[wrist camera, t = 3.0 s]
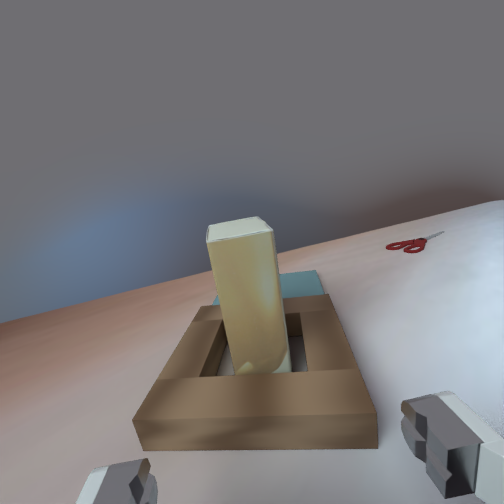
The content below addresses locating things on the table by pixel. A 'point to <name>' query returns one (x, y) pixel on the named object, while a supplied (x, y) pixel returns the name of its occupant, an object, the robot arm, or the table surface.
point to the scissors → (412, 244)
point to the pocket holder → (260, 392)
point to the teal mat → (297, 285)
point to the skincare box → (250, 295)
